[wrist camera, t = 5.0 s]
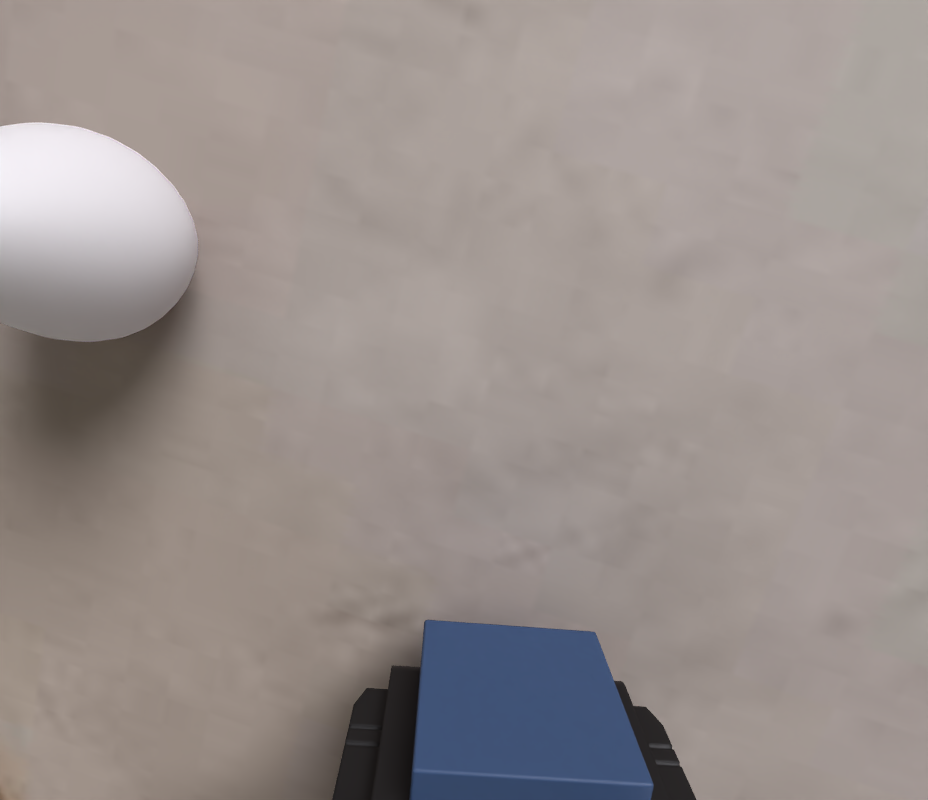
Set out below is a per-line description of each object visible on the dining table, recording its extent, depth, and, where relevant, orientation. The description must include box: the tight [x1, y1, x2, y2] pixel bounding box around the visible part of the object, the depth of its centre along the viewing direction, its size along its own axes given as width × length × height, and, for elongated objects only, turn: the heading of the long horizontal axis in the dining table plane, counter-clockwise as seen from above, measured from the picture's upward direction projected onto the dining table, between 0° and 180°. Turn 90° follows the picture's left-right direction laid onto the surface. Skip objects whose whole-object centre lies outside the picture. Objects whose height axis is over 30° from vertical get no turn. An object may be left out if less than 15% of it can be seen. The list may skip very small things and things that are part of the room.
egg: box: [0, 122, 198, 342], centre depth 10 cm, size 4×4×6 cm
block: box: [409, 620, 654, 800], centre depth 12 cm, size 4×4×4 cm
